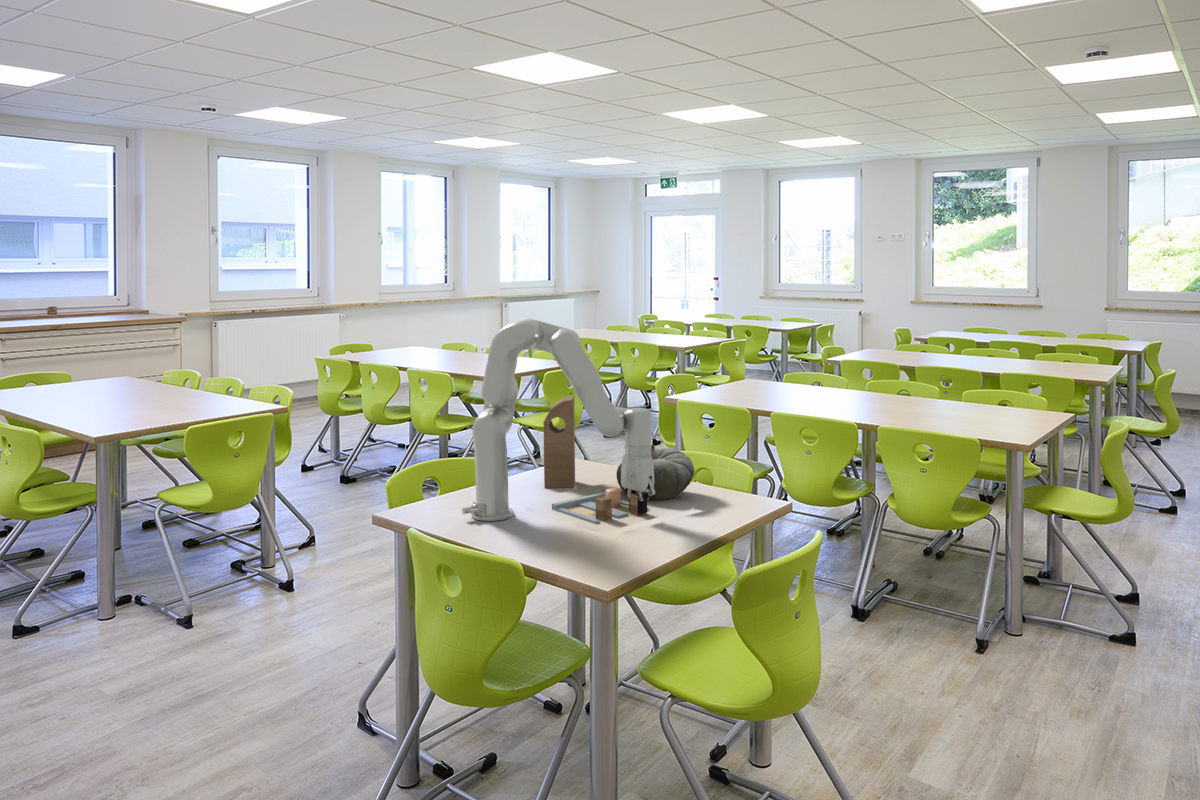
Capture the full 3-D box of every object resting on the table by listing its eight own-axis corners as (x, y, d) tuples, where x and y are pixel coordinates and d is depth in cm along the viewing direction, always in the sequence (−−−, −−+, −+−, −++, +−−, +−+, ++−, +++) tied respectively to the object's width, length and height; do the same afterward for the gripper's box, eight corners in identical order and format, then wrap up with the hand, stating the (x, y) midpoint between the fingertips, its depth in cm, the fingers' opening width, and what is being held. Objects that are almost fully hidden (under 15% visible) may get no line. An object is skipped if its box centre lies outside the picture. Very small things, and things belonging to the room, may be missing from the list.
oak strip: (634, 520, 247) (634, 496, 245) (596, 508, 259) (596, 485, 258) (648, 516, 250) (648, 493, 249) (610, 505, 263) (610, 482, 262)
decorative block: (573, 488, 284) (572, 399, 280) (544, 488, 285) (542, 399, 280) (575, 481, 294) (574, 395, 290) (546, 481, 294) (545, 395, 290)
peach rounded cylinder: (612, 509, 254) (612, 492, 253) (602, 505, 258) (602, 489, 257) (623, 506, 257) (623, 490, 256) (613, 503, 261) (613, 487, 260)
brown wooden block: (600, 525, 242) (600, 501, 241) (584, 520, 247) (584, 496, 246) (614, 522, 245) (614, 497, 244) (598, 516, 250) (598, 493, 249)
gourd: (696, 479, 285) (691, 431, 279) (697, 511, 261) (691, 459, 256) (622, 485, 288) (616, 437, 283) (616, 517, 264) (609, 466, 259)
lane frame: (595, 528, 240) (594, 518, 239) (551, 513, 255) (551, 503, 254) (648, 514, 253) (648, 504, 253) (604, 501, 268) (604, 491, 268)
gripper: (609, 448, 250) (610, 508, 253) (648, 457, 238) (648, 520, 241) (628, 444, 255) (628, 504, 258) (667, 453, 243) (667, 515, 245)
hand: (638, 511), depth 249 cm, fingers closed on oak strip, 3 cm apart
